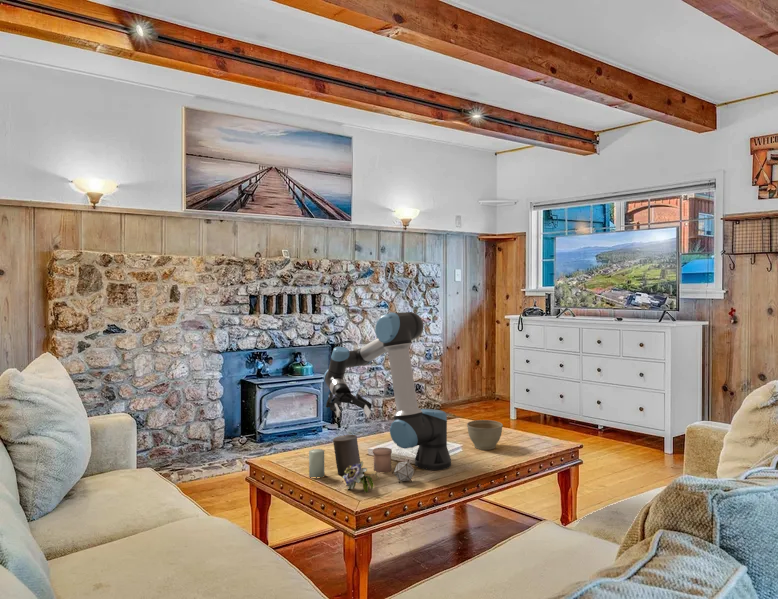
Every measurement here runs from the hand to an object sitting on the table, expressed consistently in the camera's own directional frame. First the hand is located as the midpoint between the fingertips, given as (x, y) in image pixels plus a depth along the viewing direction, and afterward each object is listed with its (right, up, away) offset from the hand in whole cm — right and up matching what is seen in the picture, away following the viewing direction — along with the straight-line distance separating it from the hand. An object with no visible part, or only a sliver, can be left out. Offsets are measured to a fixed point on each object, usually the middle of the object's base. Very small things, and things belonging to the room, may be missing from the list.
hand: (354, 414), depth 247 cm
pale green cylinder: (-15, -23, -9) cm, 28 cm away
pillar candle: (-2, -22, -5) cm, 22 cm away
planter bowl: (+58, -21, +31) cm, 69 cm away
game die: (+20, -23, -16) cm, 34 cm away
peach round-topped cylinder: (+11, -22, -1) cm, 25 cm away
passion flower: (+3, -23, -23) cm, 33 cm away
